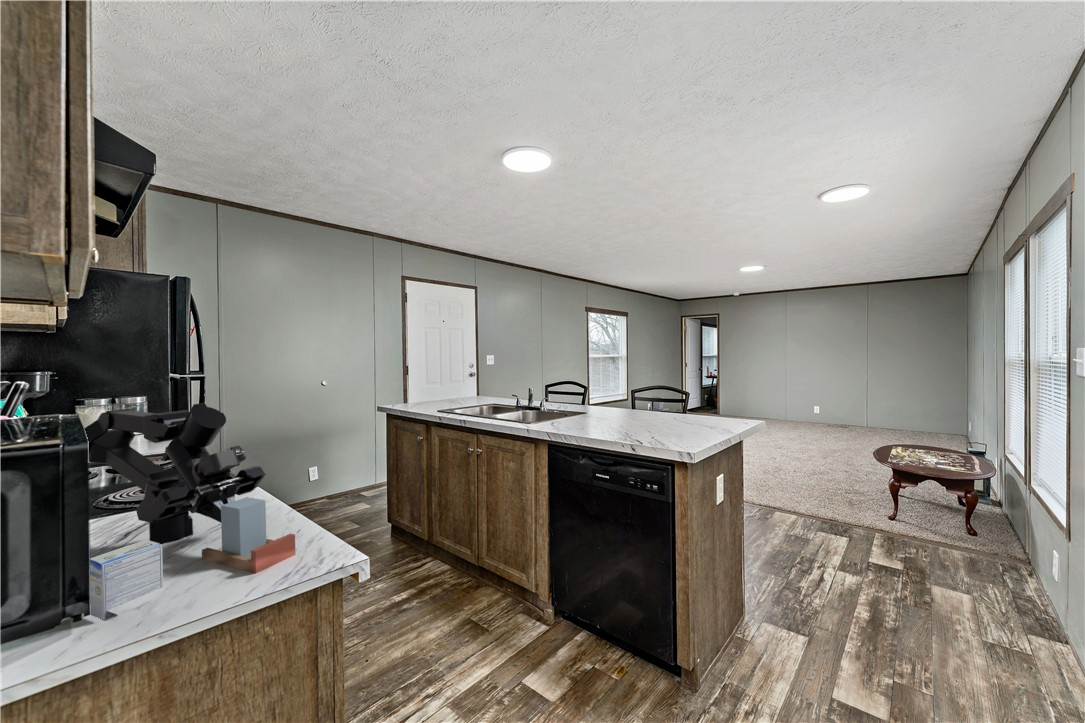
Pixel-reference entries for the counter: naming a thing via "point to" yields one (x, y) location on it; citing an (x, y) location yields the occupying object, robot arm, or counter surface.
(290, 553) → the key housing
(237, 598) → the counter surface
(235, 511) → the slate key
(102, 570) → the medicine box
